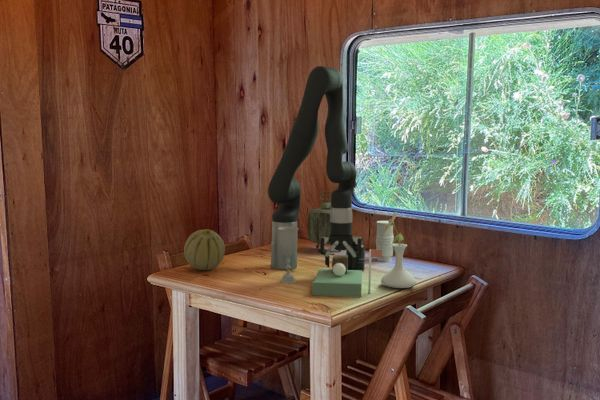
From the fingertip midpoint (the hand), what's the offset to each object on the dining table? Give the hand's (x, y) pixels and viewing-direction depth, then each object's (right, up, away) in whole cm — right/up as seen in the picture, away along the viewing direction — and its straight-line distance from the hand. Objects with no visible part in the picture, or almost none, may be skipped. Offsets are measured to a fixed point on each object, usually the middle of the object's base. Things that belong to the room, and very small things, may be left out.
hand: (340, 267), depth 208 cm
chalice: (-18, -4, -5) cm, 19 cm away
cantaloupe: (-48, -2, +11) cm, 50 cm away
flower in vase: (+18, -6, -10) cm, 21 cm away
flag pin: (+9, -6, -19) cm, 22 cm away
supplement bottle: (+6, -3, +13) cm, 15 cm away
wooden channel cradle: (0, -1, 0) cm, 1 cm away
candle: (+19, -1, +29) cm, 35 cm away
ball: (-1, 0, -7) cm, 7 cm away
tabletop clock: (-3, +2, +45) cm, 45 cm away
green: (-1, -5, -10) cm, 11 cm away
